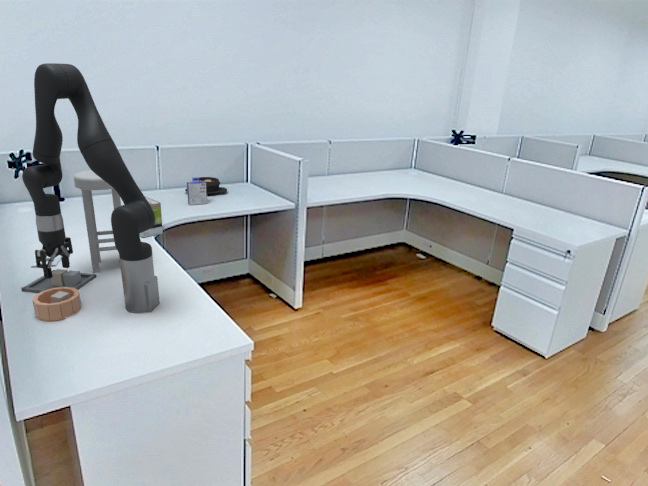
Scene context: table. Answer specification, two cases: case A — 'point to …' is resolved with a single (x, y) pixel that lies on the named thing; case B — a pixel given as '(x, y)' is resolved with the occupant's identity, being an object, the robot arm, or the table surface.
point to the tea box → (158, 219)
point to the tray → (46, 284)
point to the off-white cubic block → (58, 277)
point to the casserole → (212, 185)
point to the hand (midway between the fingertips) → (57, 272)
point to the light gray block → (72, 278)
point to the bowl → (56, 304)
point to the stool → (86, 184)
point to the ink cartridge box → (196, 192)
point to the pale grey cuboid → (59, 297)
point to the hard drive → (54, 263)
